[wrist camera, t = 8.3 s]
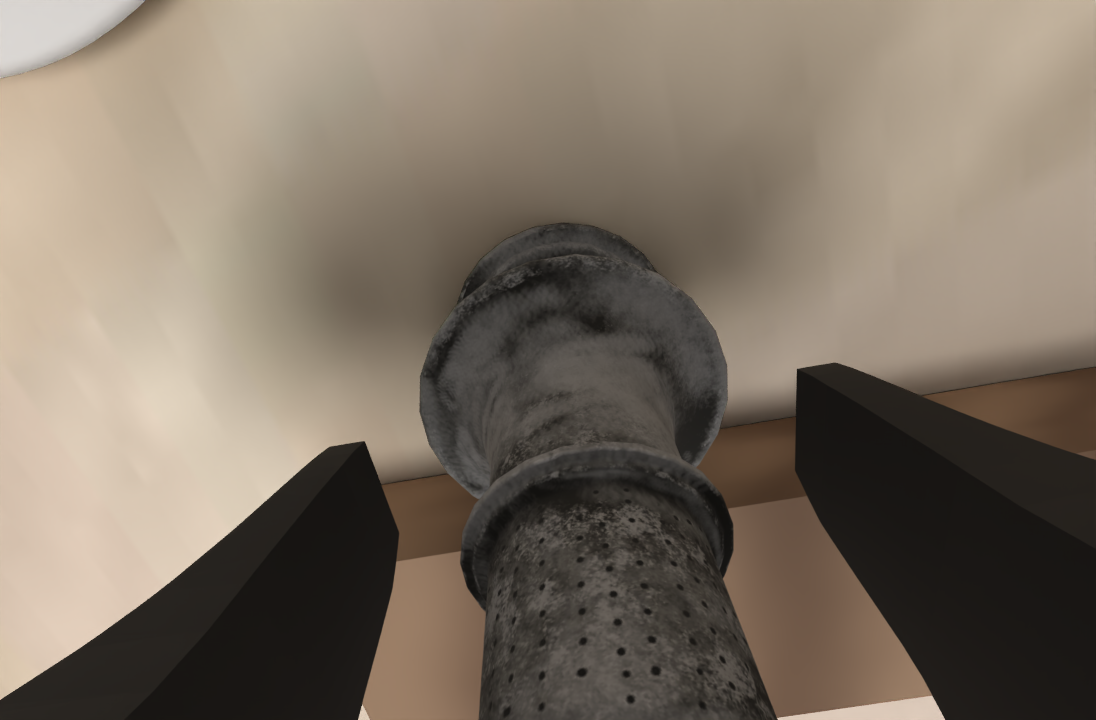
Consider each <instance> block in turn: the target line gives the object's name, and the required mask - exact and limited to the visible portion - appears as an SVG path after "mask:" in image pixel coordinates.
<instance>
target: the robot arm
mask: <svg viewBox="0 0 1096 720" xmlns="http://www.w3.org/2000/svg"><path fill="white" fill-rule="evenodd" d="M795 472H796V474H797V476H798V478H799V480H800V482H801V484H802V486H803V488H804V491H805V493H806V495H807V497H808V499H809V501H810V503H811V505H812V507H813V509H814V511H815V513H816V515H817V517H818V519H819V521H820V523H821V524H822V526H823V527H824V529H825V530H826V532H827V533H828V535H829V537H830V538H831V540H832V541H833V543H834V544H835V546H836V547H837V549H838V550H839V552H840V553H841V555H842V556H843V558H844V559H845V561H846V562H847V564H848V565H849V567H850V568H851V570H852V571H853V573H854V574H855V576H856V577H857V579H858V580H859V581H860V583H861V584H862V586H863V587H864V589H865V590H866V592H867V593H868V595H869V596H870V598H871V599H872V601H873V602H874V604H875V605H876V607H877V608H878V610H879V611H880V613H881V614H882V616H883V617H884V619H885V620H886V621H887V623H888V624H889V626H890V627H891V629H892V630H893V632H894V633H895V635H896V636H897V638H898V639H899V641H900V642H901V644H902V645H903V647H904V648H905V650H906V652H907V653H908V655H909V656H910V658H911V660H912V661H913V663H914V665H915V666H916V668H917V669H918V671H919V673H920V674H921V676H922V678H923V679H924V681H925V683H926V685H927V687H928V688H929V690H930V692H931V694H932V696H933V698H934V700H935V701H936V703H937V705H938V707H939V709H940V711H941V712H942V714H943V716H944V718H945V720H1096V460H1095V459H1091V458H1088V457H1085V456H1082V455H1079V454H1076V453H1072V452H1069V451H1066V450H1063V449H1060V448H1057V447H1054V446H1051V445H1048V444H1046V443H1043V442H1040V441H1037V440H1034V439H1032V438H1029V437H1026V436H1023V435H1020V434H1017V433H1015V432H1012V431H1009V430H1006V429H1003V428H1001V427H998V426H995V425H993V424H990V423H987V422H985V421H982V420H980V419H977V418H974V417H972V416H969V415H967V414H964V413H962V412H959V411H957V410H954V409H952V408H949V407H947V406H944V405H942V404H939V403H937V402H934V401H932V400H929V399H927V398H925V397H922V396H920V395H917V394H915V393H912V392H910V391H908V390H905V389H903V388H900V387H898V386H896V385H893V384H891V383H888V382H886V381H884V380H881V379H879V378H876V377H874V376H871V375H869V374H866V373H864V372H861V371H858V370H856V369H853V368H850V367H848V366H844V365H841V364H838V363H830V364H824V365H818V366H812V367H806V368H800V369H797V391H796V438H795ZM398 542H399V530H398V528H397V525H396V523H395V520H394V517H393V515H392V512H391V509H390V507H389V504H388V501H387V499H386V496H385V494H384V491H383V488H382V486H381V483H380V480H379V478H378V475H377V472H376V470H375V467H374V465H373V462H372V459H371V457H370V454H369V451H368V449H367V446H366V443H365V441H362V442H356V443H350V444H344V445H338V446H332V447H329V448H327V449H326V450H325V451H323V452H322V453H321V454H319V455H318V456H317V457H316V458H314V459H313V460H312V461H311V462H310V463H308V464H307V465H306V466H305V467H304V468H303V469H301V470H300V471H299V472H298V473H297V474H296V475H295V476H293V477H292V478H291V479H290V480H289V481H288V482H287V483H286V484H284V485H283V486H282V487H281V488H280V489H279V490H278V491H277V492H276V493H274V494H273V495H272V496H271V497H270V498H269V499H268V500H267V501H265V502H264V503H263V504H262V505H261V506H260V507H259V508H258V509H256V510H255V511H254V512H253V513H252V514H251V515H250V516H249V517H247V518H246V519H245V520H244V521H243V522H242V523H241V524H240V525H238V526H237V527H236V528H235V529H234V530H233V531H232V532H230V533H229V534H228V535H227V536H226V537H224V538H223V539H222V540H221V541H220V542H218V543H217V544H216V545H215V546H213V547H212V548H211V549H210V550H209V551H207V552H206V553H205V554H204V555H203V556H201V557H200V558H199V559H198V560H197V561H195V562H194V563H193V564H192V565H191V566H189V567H188V568H187V569H186V570H185V571H183V572H182V573H181V574H180V575H179V576H177V577H176V578H175V579H174V580H172V581H171V582H170V583H169V584H167V585H166V586H165V587H164V588H162V589H161V590H160V591H158V592H157V593H156V594H154V595H153V596H152V597H150V598H149V599H148V600H147V601H145V602H144V603H143V604H141V605H140V606H139V607H137V608H136V609H135V610H133V611H132V612H130V613H129V614H128V615H126V616H125V617H123V618H122V619H121V620H119V621H118V622H116V623H115V624H114V625H112V626H111V627H110V628H108V629H107V630H105V631H104V632H103V633H101V634H100V635H98V636H97V637H96V638H94V639H93V640H91V641H90V642H88V643H87V644H85V645H84V646H83V647H81V648H80V649H78V650H77V651H75V652H74V653H72V654H70V655H69V656H67V657H66V658H64V659H63V660H61V661H60V662H58V663H57V664H55V665H53V666H52V667H50V668H49V669H47V670H46V671H44V672H43V673H41V674H40V675H38V676H36V677H35V678H33V679H32V680H30V681H29V682H27V683H26V684H24V685H23V686H21V687H19V688H18V689H16V690H15V691H13V692H12V693H10V694H9V695H7V696H6V697H4V698H3V699H1V700H0V720H358V717H359V714H360V710H361V706H362V703H363V699H364V695H365V691H366V688H367V684H368V680H369V677H370V673H371V669H372V665H373V662H374V658H375V654H376V651H377V647H378V643H379V639H380V636H381V632H382V628H383V624H384V620H385V617H386V613H387V609H388V605H389V601H390V597H391V593H392V589H393V582H394V575H395V568H396V560H397V551H398Z"/></svg>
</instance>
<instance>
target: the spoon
mask: <svg viewBox="0 0 1096 720" xmlns="http://www.w3.org/2000/svg"><path fill="white" fill-rule="evenodd" d="M144 1H145V0H0V78H4V77H9V76H13V75H18V74H21V73H25V72H28V71H31V70H34V69H37V68H40V67H44V66H46V65H49V64H51V63H53V62H56V61H58V60H60V59H63V58H65V57H67V56H70V55H71V54H73V53H75V52H77V51H78V50H80V49H82V48H84V47H85V46H87V45H89V44H91V43H92V42H94V41H95V40H97V39H98V38H100V37H101V36H103V35H104V34H105V33H107V32H108V31H110V30H111V29H113V28H114V27H115V26H117V25H118V24H119V23H120V22H122V21H123V20H124V19H125V18H126V17H127V16H129V15H130V14H131V13H132V12H133V11H135V10H136V9H137V8H138V7H139V6H140V5H141V4H142V3H143V2H144Z"/></svg>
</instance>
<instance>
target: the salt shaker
mask: <svg viewBox="0 0 1096 720" xmlns="http://www.w3.org/2000/svg"><path fill="white" fill-rule="evenodd" d="M727 401H728V394H727V364H726V361H725V358H724V355H723V352H722V349H721V346H720V343H719V340H718V337H717V334H716V331H715V330H714V328H713V327H712V325H711V324H710V323H709V321H708V320H707V319H706V317H705V316H704V314H703V313H702V312H701V310H700V309H699V308H698V306H697V305H696V303H695V302H694V301H693V299H692V298H691V297H689V296H688V295H687V294H685V293H684V292H683V291H681V290H680V289H679V288H677V287H676V286H675V285H673V284H672V283H671V282H669V281H668V280H667V279H665V278H664V277H663V276H661V275H660V274H658V273H657V271H656V270H655V269H654V267H653V266H652V265H651V263H650V262H649V261H648V259H647V258H646V257H645V255H644V254H643V253H641V252H640V251H639V250H637V249H636V248H635V247H634V246H632V245H631V244H630V243H628V242H627V241H626V240H624V239H623V238H622V237H620V236H617V235H615V234H612V233H610V232H607V231H605V230H602V229H599V228H597V227H594V226H588V225H579V224H569V223H558V224H552V225H545V226H539V227H533V228H530V229H528V230H526V231H523V232H521V233H519V234H517V235H514V236H512V237H510V238H508V239H505V240H504V241H502V242H501V243H500V244H499V245H498V246H496V247H495V248H494V249H493V250H491V251H490V252H489V253H488V254H486V255H485V256H484V257H483V258H482V259H481V260H480V261H479V263H478V264H477V265H476V267H475V268H474V270H473V271H472V273H471V274H470V275H469V277H468V278H467V280H466V281H465V283H464V286H463V289H462V292H461V295H460V297H459V300H458V303H457V305H456V306H455V308H454V309H453V310H452V312H451V313H450V315H449V316H448V317H447V319H446V320H445V322H444V323H443V325H442V326H441V327H440V329H439V330H438V332H437V333H436V334H435V336H434V337H433V339H432V342H431V345H430V348H429V351H428V354H427V357H426V360H425V363H424V366H423V369H422V372H421V375H420V415H421V418H422V421H423V425H424V428H425V432H426V435H427V439H428V442H429V445H430V446H431V448H432V450H433V451H434V453H435V454H436V456H437V457H438V459H439V460H440V462H441V464H442V465H443V467H444V468H445V470H446V471H447V473H448V474H449V475H450V476H451V477H452V478H454V479H455V480H456V481H457V482H458V483H459V484H460V485H461V486H462V487H464V488H465V489H466V490H467V491H468V492H469V493H470V494H471V495H472V496H474V497H476V498H477V499H479V500H478V501H477V502H476V503H475V505H474V507H473V509H472V511H471V514H470V516H469V518H468V520H467V523H466V525H465V527H464V529H463V532H462V543H461V556H460V565H461V568H462V572H463V575H464V579H465V582H466V585H467V588H468V590H469V591H470V593H471V594H472V595H473V597H474V598H475V600H476V601H477V602H478V604H479V605H480V607H481V608H482V609H483V610H484V611H485V612H486V616H485V631H484V646H483V661H482V675H481V690H480V705H479V720H778V719H777V717H776V714H775V712H774V709H773V706H772V704H771V701H770V699H769V696H768V694H767V691H766V688H765V686H764V683H763V681H762V678H761V676H760V673H759V670H758V668H757V665H756V663H755V660H754V658H753V655H752V652H751V650H750V647H749V645H748V642H747V640H746V637H745V634H744V632H743V629H742V627H741V624H740V622H739V619H738V616H737V614H736V611H735V609H734V606H733V604H732V601H731V598H730V596H729V593H728V591H727V588H726V586H725V583H724V580H723V578H724V576H725V574H726V571H727V568H728V565H729V562H730V559H731V557H732V554H733V551H734V530H733V522H732V519H731V516H730V514H729V511H728V509H727V506H726V503H725V501H724V498H723V496H722V494H721V493H720V492H719V491H718V489H717V488H716V487H715V486H714V485H713V484H712V482H711V481H710V480H709V479H708V478H707V477H706V476H705V474H704V473H703V472H702V471H700V470H699V469H697V468H696V467H697V466H698V465H699V464H700V462H701V461H702V459H703V458H704V456H705V454H706V453H707V451H708V449H709V448H710V446H711V445H712V443H713V441H714V440H715V438H716V436H717V435H718V432H719V429H720V425H721V422H722V418H723V415H724V411H725V408H726V404H727Z"/></svg>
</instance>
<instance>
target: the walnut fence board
mask: <svg viewBox="0 0 1096 720" xmlns="http://www.w3.org/2000/svg"><path fill="white" fill-rule="evenodd" d="M922 397H925V398H927V399H929V400H932V401H934V402H937V403H939V404H942V405H944V406H947V407H949V408H952V409H954V410H957V411H959V412H962V413H964V414H967V415H969V416H972V417H974V418H977V419H980V420H982V421H985V422H987V423H990V424H993V425H995V426H998V427H1001V428H1003V429H1006V430H1009V431H1012V432H1015V433H1017V434H1020V435H1023V436H1026V437H1029V438H1032V439H1034V440H1037V441H1040V442H1043V443H1046V444H1048V445H1051V446H1054V447H1057V448H1060V449H1063V450H1066V451H1069V452H1072V453H1076V454H1079V455H1082V456H1085V457H1088V458H1091V459H1095V460H1096V367H1094V368H1088V369H1082V370H1075V371H1069V372H1063V373H1057V374H1051V375H1045V376H1039V377H1033V378H1027V379H1021V380H1015V381H1009V382H1003V383H997V384H991V385H985V386H979V387H972V388H966V389H960V390H954V391H948V392H942V393H936V394H930V395H924V396H922ZM795 438H796V417H791V418H785V419H779V420H773V421H767V422H760V423H754V424H748V425H742V426H736V427H730V428H724V429H719V432H718V435H717V436H716V438H715V440H714V441H713V443H712V445H711V446H710V448H709V449H708V451H707V453H706V454H705V456H704V458H703V459H702V461H701V462H700V464H699V465H698V466H697V467H696V468H697V469H699V470H700V471H702V472H703V473H704V474H705V476H706V477H707V478H708V479H709V480H710V481H711V482H712V484H713V485H714V486H715V487H716V488H717V489H718V491H719V492H720V493H721V494H722V496H723V498H724V501H725V503H726V506H727V509H728V511H729V514H730V516H731V519H732V522H733V530H734V551H733V554H732V557H731V559H730V562H729V565H728V568H727V571H726V574H725V576H724V578H723V580H724V583H725V586H726V588H727V591H728V593H729V596H730V598H731V601H732V604H733V606H734V609H735V611H736V614H737V616H738V619H739V622H740V624H741V627H742V629H743V632H744V634H745V637H746V640H747V642H748V645H749V647H750V650H751V652H752V655H753V658H754V660H755V663H756V665H757V668H758V670H759V673H760V676H761V678H762V681H763V683H764V686H765V688H766V691H767V694H768V696H769V699H770V701H771V704H772V706H773V709H774V712H775V714H776V717H777V718H779V717H786V716H793V715H800V714H807V713H814V712H821V711H828V710H834V709H841V708H848V707H855V706H862V705H869V704H876V703H883V702H890V701H897V700H904V699H911V698H918V697H925V696H932V694H931V692H930V690H929V688H928V687H927V685H926V683H925V681H924V679H923V678H922V676H921V674H920V673H919V671H918V669H917V668H916V666H915V665H914V663H913V661H912V660H911V658H910V656H909V655H908V653H907V652H906V650H905V648H904V647H903V645H902V644H901V642H900V641H899V639H898V638H897V636H896V635H895V633H894V632H893V630H892V629H891V627H890V626H889V624H888V623H887V621H886V620H885V619H884V617H883V616H882V614H881V613H880V611H879V610H878V608H877V607H876V605H875V604H874V602H873V601H872V599H871V598H870V596H869V595H868V593H867V592H866V590H865V589H864V587H863V586H862V584H861V583H860V581H859V580H858V579H857V577H856V576H855V574H854V573H853V571H852V570H851V568H850V567H849V565H848V564H847V562H846V561H845V559H844V558H843V556H842V555H841V553H840V552H839V550H838V549H837V547H836V546H835V544H834V543H833V541H832V540H831V538H830V537H829V535H828V533H827V532H826V530H825V529H824V527H823V526H822V524H821V523H820V521H819V519H818V517H817V515H816V513H815V511H814V509H813V507H812V505H811V503H810V501H809V499H808V497H807V495H806V493H805V491H804V488H803V486H802V484H801V482H800V480H799V478H798V476H797V474H796V472H795ZM381 486H382V488H383V491H384V494H385V496H386V499H387V501H388V504H389V507H390V509H391V512H392V515H393V517H394V520H395V523H396V525H397V528H398V530H399V542H398V551H397V560H396V568H395V575H394V582H393V589H392V593H391V597H390V601H389V605H388V609H387V613H386V617H385V620H384V624H383V628H382V632H381V636H380V639H379V643H378V647H377V651H376V654H375V658H374V662H373V665H372V669H371V673H370V677H369V680H368V684H367V688H366V691H365V695H364V699H363V703H362V704H363V706H364V708H365V710H366V712H367V714H368V716H369V718H370V720H479V705H480V690H481V675H482V661H483V646H484V631H485V616H486V612H485V611H484V610H483V609H482V608H481V607H480V605H479V604H478V602H477V601H476V600H475V598H474V597H473V595H472V594H471V593H470V591H469V590H468V588H467V585H466V582H465V579H464V575H463V572H462V568H461V565H460V556H461V543H462V532H463V529H464V527H465V525H466V523H467V520H468V518H469V516H470V514H471V511H472V509H473V507H474V505H475V503H476V502H477V501H478V500H479V499H477V498H476V497H474V496H472V495H471V494H470V493H469V492H468V491H467V490H466V489H465V488H464V487H462V486H461V485H460V484H459V483H458V482H457V481H456V480H455V479H454V478H452V477H451V476H450V475H449V474H446V475H439V476H433V477H427V478H421V479H415V480H409V481H403V482H397V483H391V484H385V485H381Z"/></svg>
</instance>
